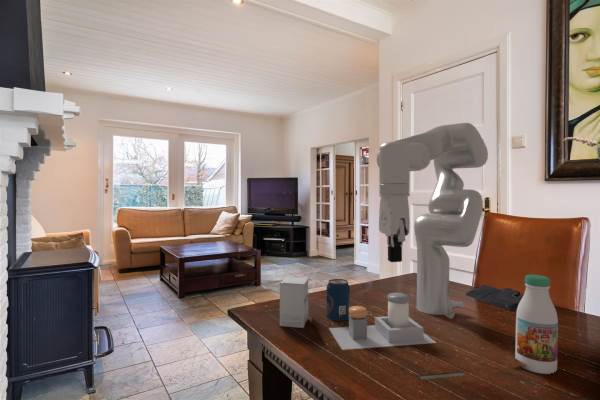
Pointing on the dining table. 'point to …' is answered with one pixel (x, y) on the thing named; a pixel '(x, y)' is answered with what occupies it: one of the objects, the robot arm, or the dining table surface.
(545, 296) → the milk bottle
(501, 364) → the dining table surface
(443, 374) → the mat
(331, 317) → the soda can
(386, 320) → the housing
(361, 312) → the brown egg
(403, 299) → the cartridge
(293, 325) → the supplement box
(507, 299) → the dark slate chunk
